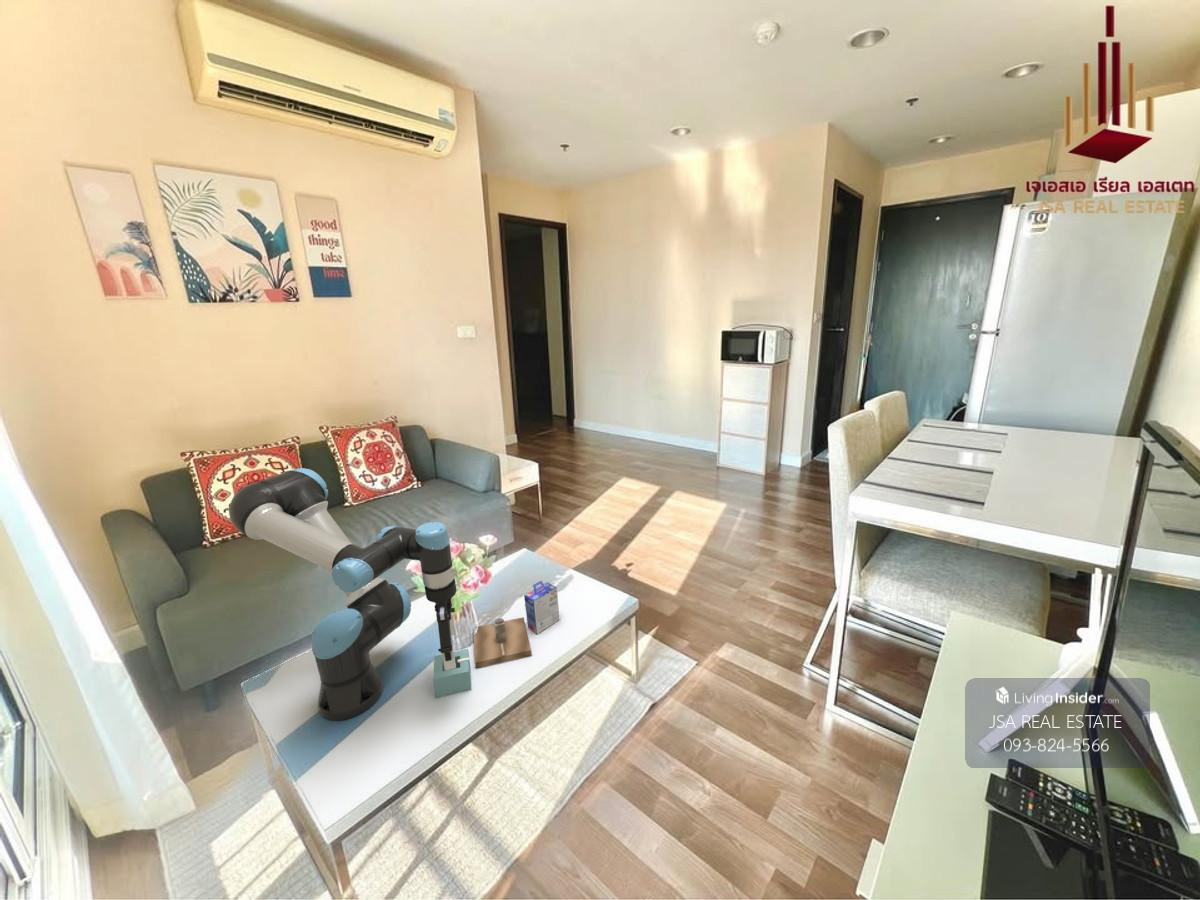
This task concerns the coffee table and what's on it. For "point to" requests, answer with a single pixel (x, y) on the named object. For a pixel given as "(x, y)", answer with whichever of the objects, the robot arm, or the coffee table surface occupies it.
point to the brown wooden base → (501, 642)
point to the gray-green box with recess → (452, 675)
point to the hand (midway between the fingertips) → (450, 650)
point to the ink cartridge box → (541, 607)
